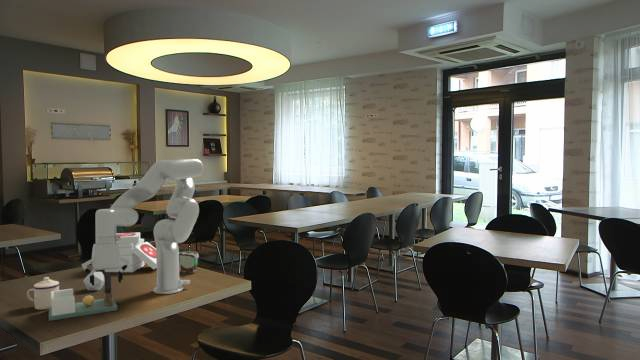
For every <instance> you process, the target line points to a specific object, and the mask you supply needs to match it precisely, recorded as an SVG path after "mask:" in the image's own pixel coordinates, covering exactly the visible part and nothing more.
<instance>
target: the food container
mask: <svg viewBox="0 0 640 360" xmlns="http://www.w3.org/2000/svg"><path fill="white" fill-rule="evenodd" d="M199 258H200V256H199V253H198V251H193V250H188V251H186V250H185V251H179V271H180V272H181V271H185V272H184V273H186V272H190V273H189V274H191V273H194V274H196V273H197V272H198V259H199ZM195 272H196V273H195Z"/></svg>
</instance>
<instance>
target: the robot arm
mask: <svg viewBox="0 0 640 360" xmlns="http://www.w3.org/2000/svg"><path fill="white" fill-rule="evenodd" d="M204 171H205V166H204V163H203V162H202V161H201V160H200V159H198V158H177V159H161V160H157V161H156V162H155V163H154V164H152V165H151V167H149V169H148V170H147V171H146V173H145V174H144V175H143V176H142V177H141V179H140V180H139V181H138V183H137V184H134V185H133V186H132V187H130V189H128V190H126V191H125V192H124V193H122V194H121V195H120V196H119V197H118V198H117V199H116V200H115V201H114V203H112V205H111V206H110V208H102V209H101V208H100V209H97V210H96V212H95V214H94V215H95V243H93V246H92V250H91V251H92V252H91V259H89V260H87V261H85V262H84V263H82V264H81V267H82V269H83V270H84V272H85V273H86V274H87V275H88V274H89V275H90V283H92V286H94V273H95V272H97V271H105V270H106V269H115V268H117V269H118V270H119V272H117V282H118V283H119V284H120V283H122V280H123V275H124V274H123V273H124V272H123V271H124V270H125V269H126V268H127V266H128V265H129V263H130V261H129V260H128V259H125V258H122V257H120V250H119V244H118V243H117V240H120V237H118V236H117V235H116V234H117V227H132V226H133V225H136V223H137V222H138V221H139V213H138V211H136V210H135V209H134V207H135V206H137V205H138V204H139V203H142V202H145V201H148V200H150V199H151V198H153V197H155V196H156V194H158V192H159V191H160V189H161V188H162V187H163V185H164V184H165V183H166V182H167V181H168V180H170V181H175V182H176V183H175V188H174V191H173V192H172V195H171V196H170V199H169V201H168V204H167V206H166V211H165V212H166V214H167V216H168V217H170V218H173V219H167V218H166V219H164V218H163V219H161V220H159V221H157V222H156V223H155V225H154V227H153V237H154V241H155V248H156V263H157V268H156V287H154V288H153V289H152V290H153V293H154V294H158V295H171V294H175V293H180V292H181V291H183V290H184V286H185V285H190V284H191V279H186V278H185V279H181V278H180V259H179V252H180V249H179V248H180V247H179V245H178V244H182V243H184V242H185V241H187V240H188V238H189V237H190V235H191V233H192V231H193V229H194V226H195V224H196V223H197V219H198V217H199V214H200V207H199V203H198V202H197V200H195V199H194V198H193V196H194V193H195V191H196V190H195V187H196V186H195V182H194V179H195V178H199V177H200V176H202V174H204ZM174 219H175V220H174ZM120 260H121V261H123V262H125V264H124V266H123V267H122V268H121V267H120ZM89 265H91V268H90V269H89V268H88V266H89Z"/></svg>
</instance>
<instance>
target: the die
mask: <svg viewBox="0 0 640 360" xmlns="http://www.w3.org/2000/svg"><path fill="white" fill-rule="evenodd" d="M104 275H105V274H104V273H103V272H102V271H95V273H94V286H92V283H90V275H89V274H88V273H87V276H85V278H84V279H83V280H82V281H83V284H84V286H85V287H86V290H87V291H100V290H101V289H102V288H103V286H104Z"/></svg>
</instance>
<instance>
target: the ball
mask: <svg viewBox="0 0 640 360" xmlns="http://www.w3.org/2000/svg"><path fill="white" fill-rule="evenodd" d="M94 300H95V297H94V296H93V295H91V294H90V295H89V294H88V295H85V296H84V297H83V298H82V302H83V304H84V305H86V306H90V305H92V304H93V303H94Z"/></svg>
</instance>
